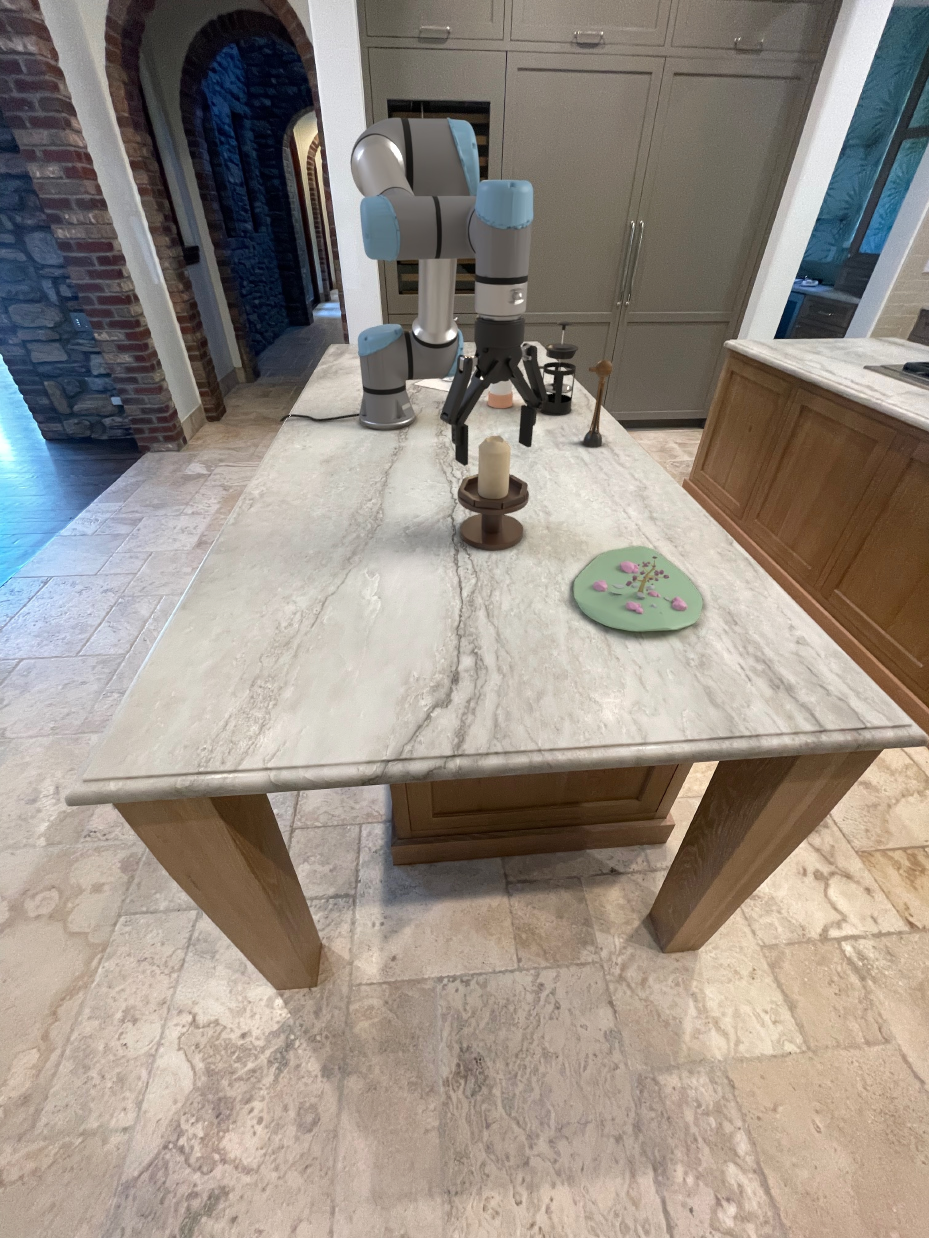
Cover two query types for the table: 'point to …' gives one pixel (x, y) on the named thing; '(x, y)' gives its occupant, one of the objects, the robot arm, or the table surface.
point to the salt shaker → (500, 394)
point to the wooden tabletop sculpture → (597, 404)
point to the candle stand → (492, 515)
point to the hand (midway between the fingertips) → (494, 453)
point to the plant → (637, 591)
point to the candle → (493, 468)
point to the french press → (559, 377)
